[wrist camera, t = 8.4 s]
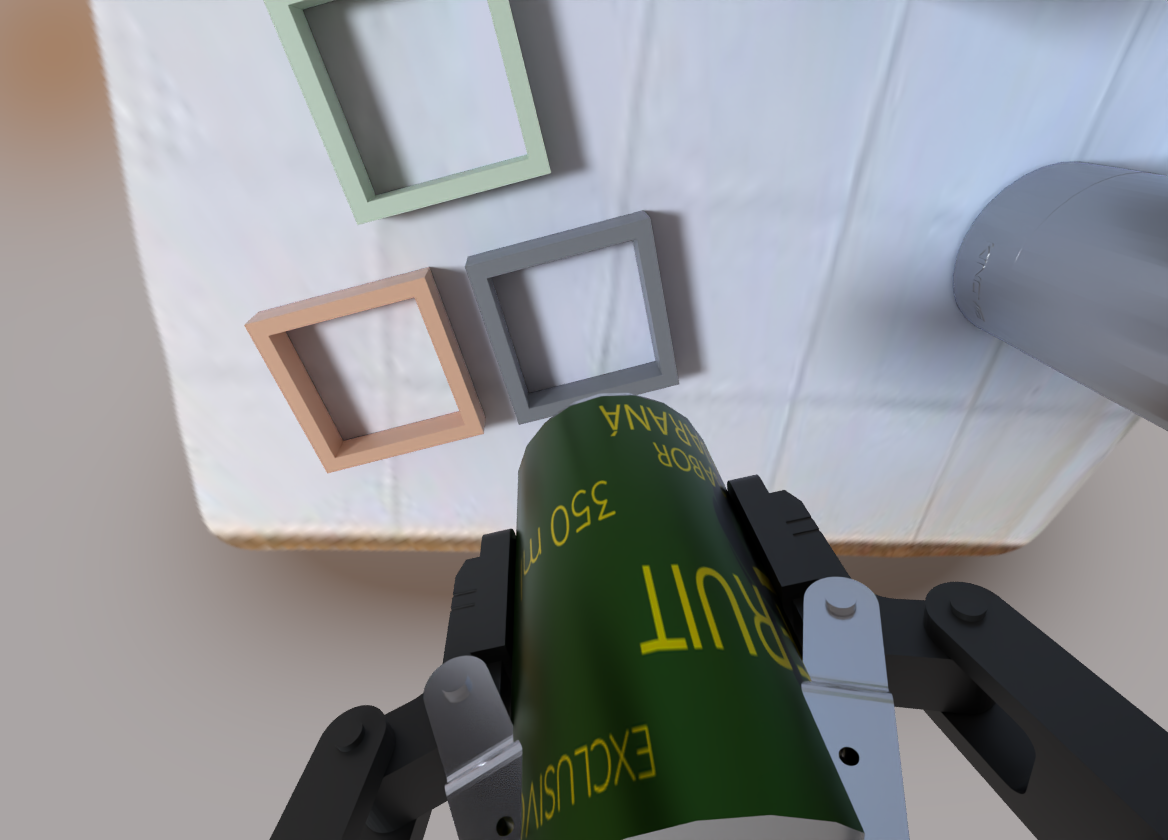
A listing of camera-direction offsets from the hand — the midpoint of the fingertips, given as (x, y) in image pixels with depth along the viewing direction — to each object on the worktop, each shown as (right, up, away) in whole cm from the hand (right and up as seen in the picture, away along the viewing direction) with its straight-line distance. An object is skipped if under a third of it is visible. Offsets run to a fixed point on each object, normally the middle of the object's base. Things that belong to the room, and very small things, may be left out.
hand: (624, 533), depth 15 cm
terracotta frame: (-12, +6, +17) cm, 22 cm away
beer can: (0, +2, +3) cm, 3 cm away
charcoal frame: (-1, +8, +17) cm, 19 cm away
